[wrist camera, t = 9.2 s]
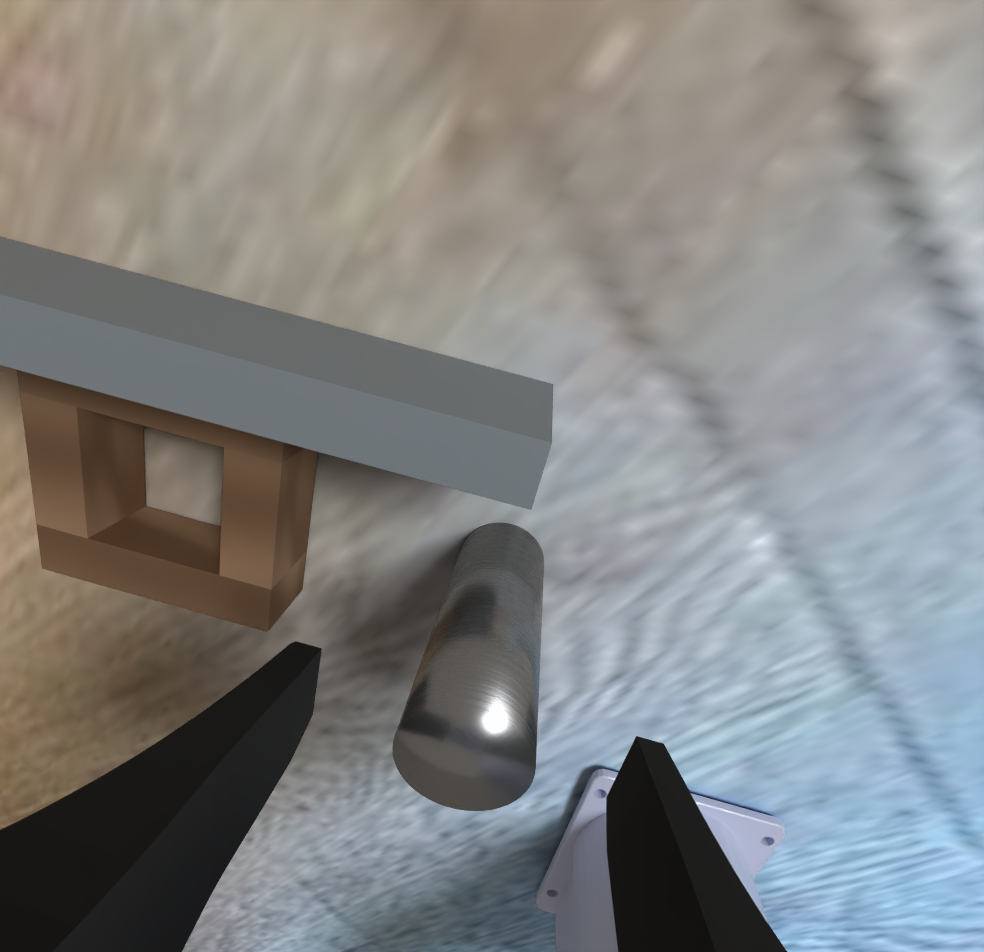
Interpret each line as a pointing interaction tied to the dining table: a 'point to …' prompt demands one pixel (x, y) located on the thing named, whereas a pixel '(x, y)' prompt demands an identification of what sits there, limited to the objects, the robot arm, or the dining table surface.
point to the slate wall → (274, 374)
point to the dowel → (479, 678)
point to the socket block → (157, 534)
